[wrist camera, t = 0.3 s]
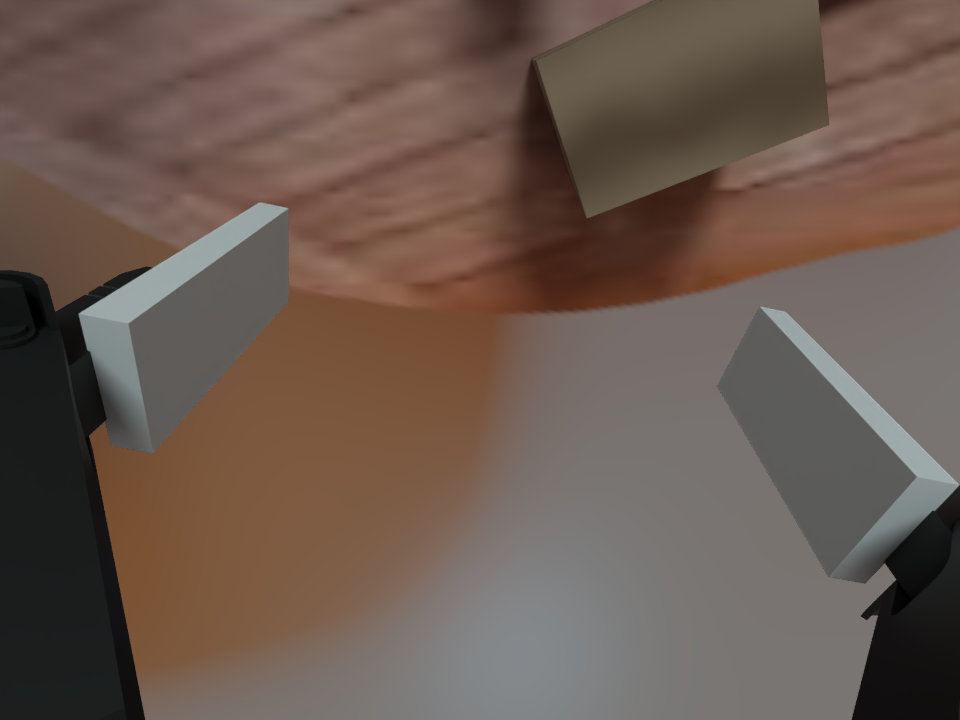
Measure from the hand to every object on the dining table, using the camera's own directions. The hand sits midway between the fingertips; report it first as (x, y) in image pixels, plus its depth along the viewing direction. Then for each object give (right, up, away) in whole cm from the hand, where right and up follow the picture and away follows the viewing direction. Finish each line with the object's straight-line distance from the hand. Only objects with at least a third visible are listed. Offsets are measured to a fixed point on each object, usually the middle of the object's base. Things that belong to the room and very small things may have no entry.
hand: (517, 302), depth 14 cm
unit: (+9, +17, +20) cm, 28 cm away
